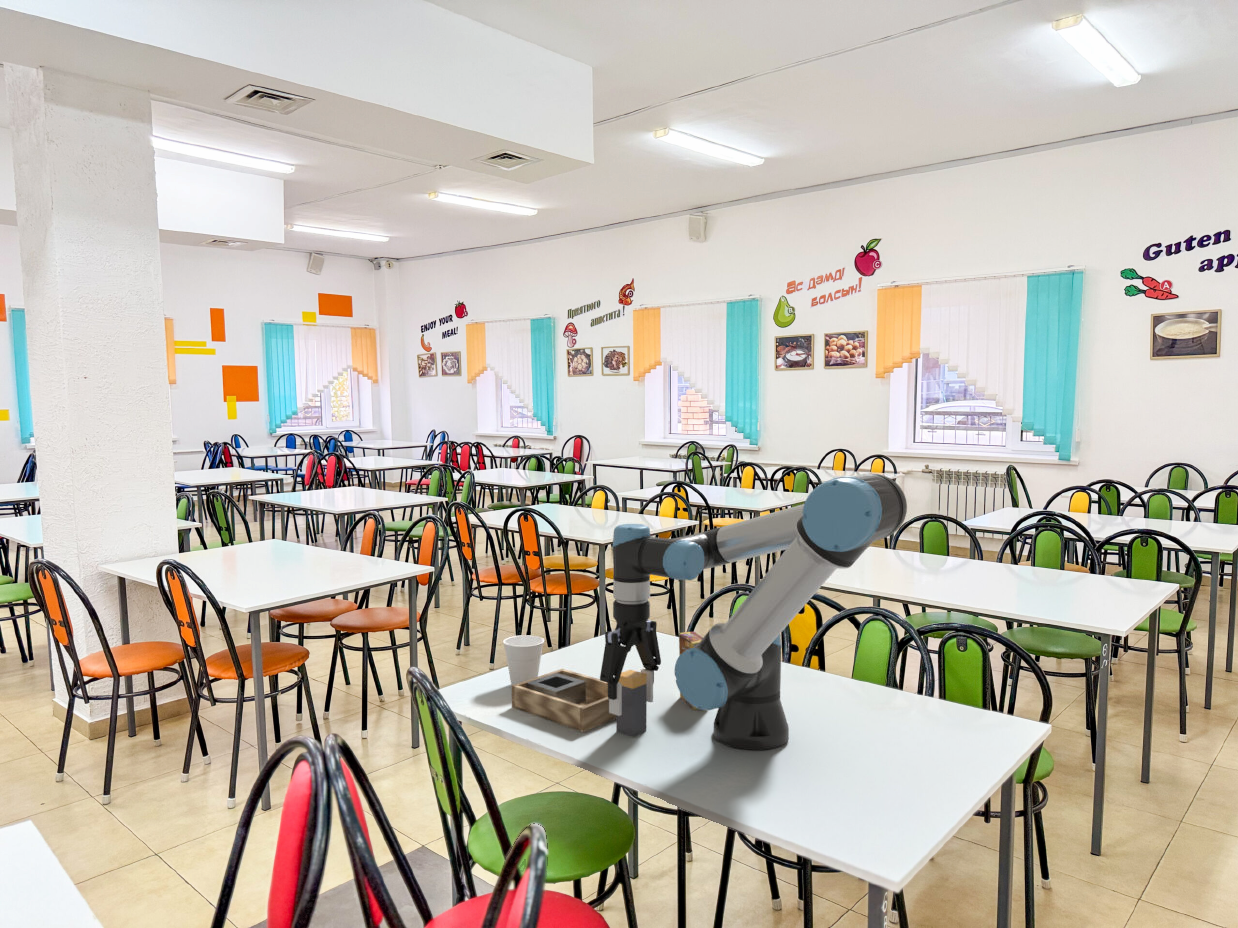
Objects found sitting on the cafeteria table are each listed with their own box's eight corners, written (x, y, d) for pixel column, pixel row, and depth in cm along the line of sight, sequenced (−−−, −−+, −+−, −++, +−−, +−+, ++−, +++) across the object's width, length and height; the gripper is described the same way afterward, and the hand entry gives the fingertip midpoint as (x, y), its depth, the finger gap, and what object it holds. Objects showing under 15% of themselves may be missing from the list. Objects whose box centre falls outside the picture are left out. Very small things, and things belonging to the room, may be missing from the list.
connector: (646, 730, 175) (646, 673, 175) (632, 736, 172) (632, 679, 171) (630, 725, 178) (630, 669, 178) (616, 731, 175) (616, 674, 174)
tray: (633, 711, 187) (633, 688, 186) (583, 732, 175) (583, 708, 174) (562, 689, 201) (562, 668, 201) (511, 707, 189) (511, 685, 189)
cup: (542, 692, 199) (542, 646, 198) (500, 692, 199) (499, 646, 198) (546, 678, 209) (546, 634, 208) (506, 678, 209) (506, 634, 208)
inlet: (585, 700, 191) (585, 681, 191) (556, 712, 184) (556, 691, 184) (556, 691, 198) (556, 672, 197) (526, 702, 191) (526, 682, 190)
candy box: (678, 697, 195) (678, 632, 194) (695, 695, 197) (695, 630, 196) (692, 710, 187) (692, 642, 186) (710, 708, 188) (711, 640, 187)
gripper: (650, 588, 184) (650, 689, 186) (580, 606, 167) (581, 717, 169) (678, 593, 179) (678, 697, 181) (609, 612, 163) (609, 726, 164)
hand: (631, 706), depth 175 cm, fingers open, 9 cm apart
